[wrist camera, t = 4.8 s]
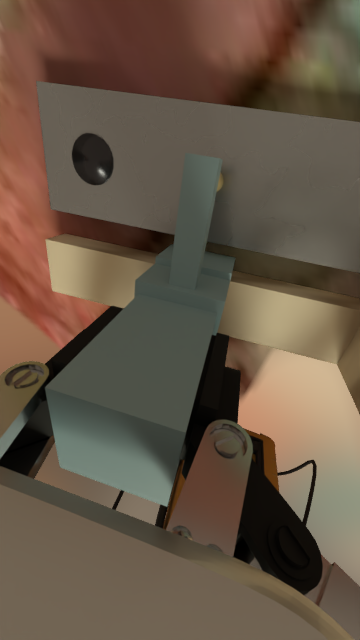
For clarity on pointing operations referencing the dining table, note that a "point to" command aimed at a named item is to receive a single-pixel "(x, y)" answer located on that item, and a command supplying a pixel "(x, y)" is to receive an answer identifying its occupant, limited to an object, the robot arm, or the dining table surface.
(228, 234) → the flange plate
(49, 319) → the dining table surface
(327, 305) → the trammel rail
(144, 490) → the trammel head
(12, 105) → the dining table surface
